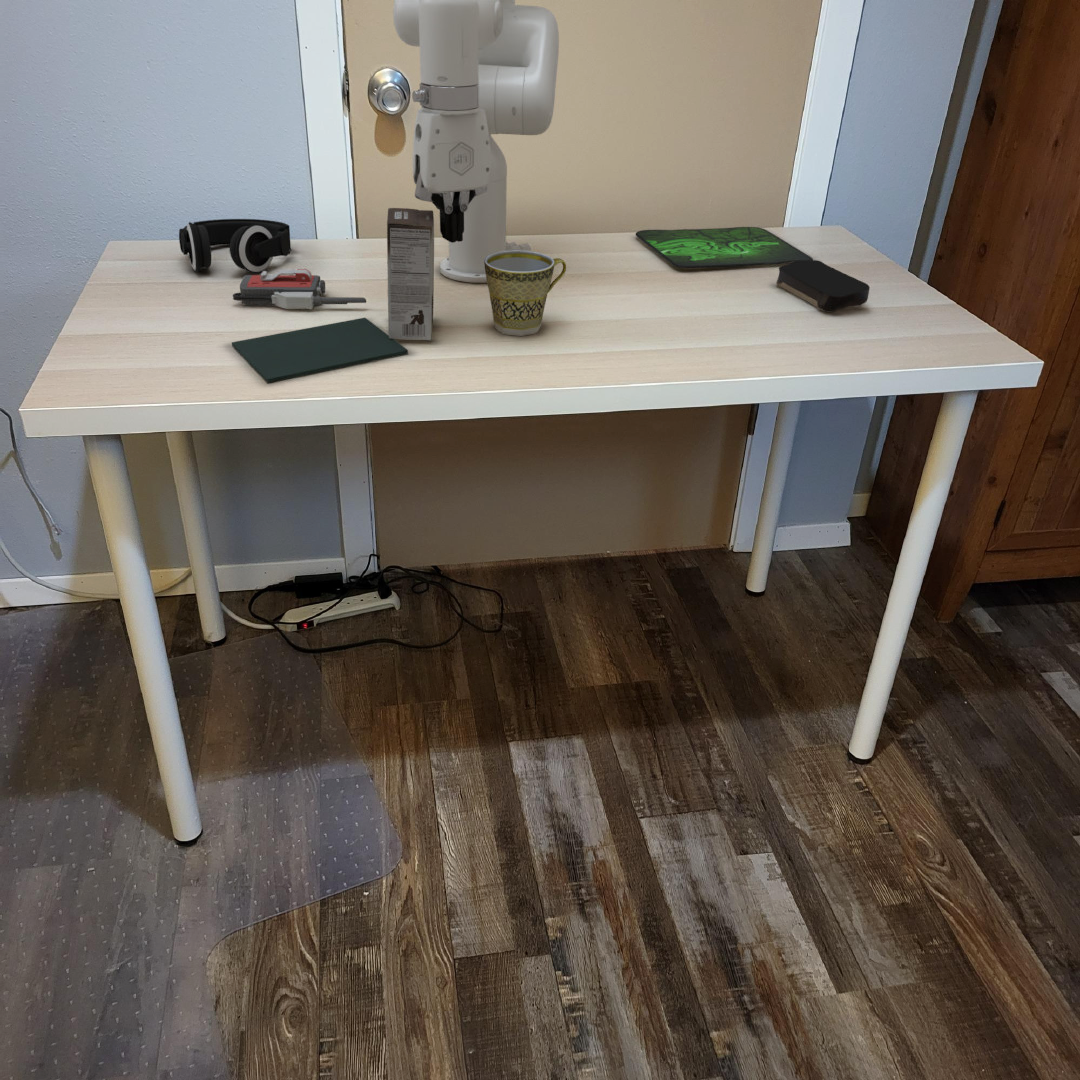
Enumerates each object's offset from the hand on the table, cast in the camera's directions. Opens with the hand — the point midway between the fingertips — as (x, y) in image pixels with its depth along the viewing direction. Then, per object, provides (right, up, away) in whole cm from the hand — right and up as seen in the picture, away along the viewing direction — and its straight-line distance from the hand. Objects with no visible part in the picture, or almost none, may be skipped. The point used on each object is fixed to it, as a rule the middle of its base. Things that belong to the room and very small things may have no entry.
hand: (452, 239), depth 138 cm
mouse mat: (+46, +11, +42) cm, 63 cm away
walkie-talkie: (-24, -6, +13) cm, 28 cm away
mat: (-18, -16, -3) cm, 24 cm away
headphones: (-39, +5, +29) cm, 49 cm away
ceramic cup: (+10, -11, +7) cm, 17 cm away
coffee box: (-6, -12, +4) cm, 14 cm away
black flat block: (+58, -3, +22) cm, 62 cm away
